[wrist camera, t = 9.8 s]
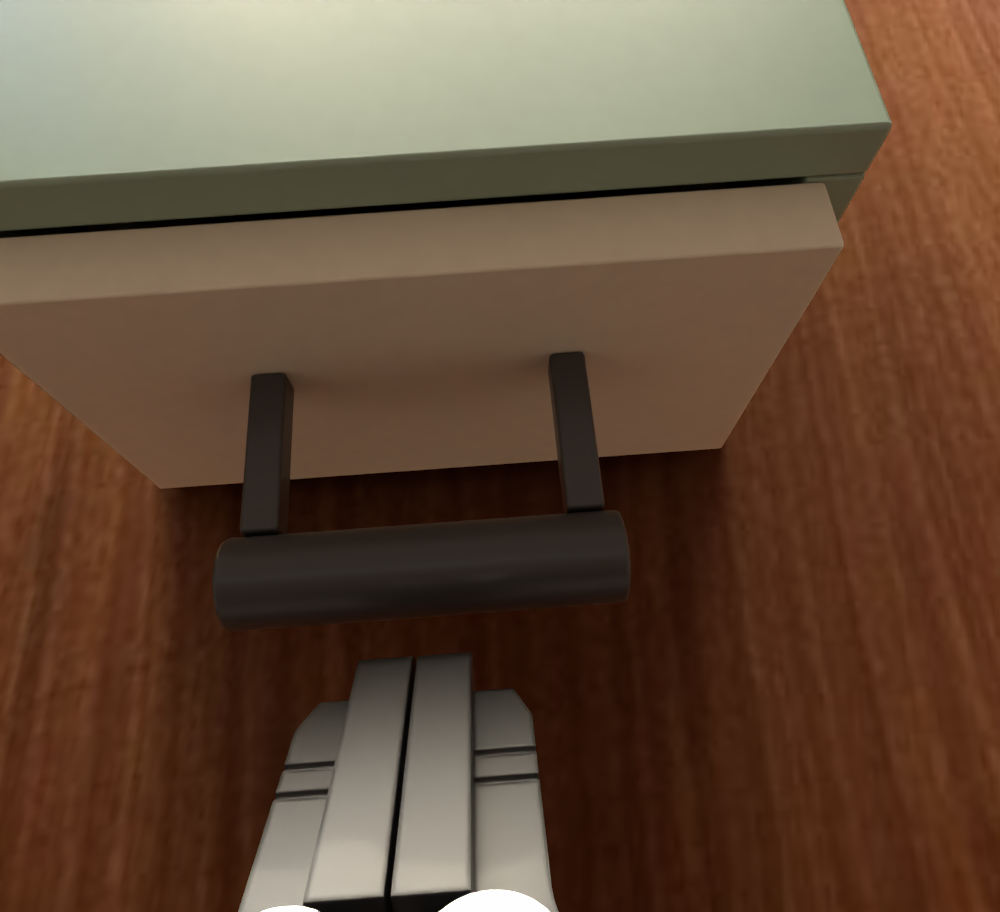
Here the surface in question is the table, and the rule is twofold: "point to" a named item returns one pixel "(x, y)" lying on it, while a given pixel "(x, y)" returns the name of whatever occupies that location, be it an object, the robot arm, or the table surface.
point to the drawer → (418, 370)
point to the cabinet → (417, 103)
